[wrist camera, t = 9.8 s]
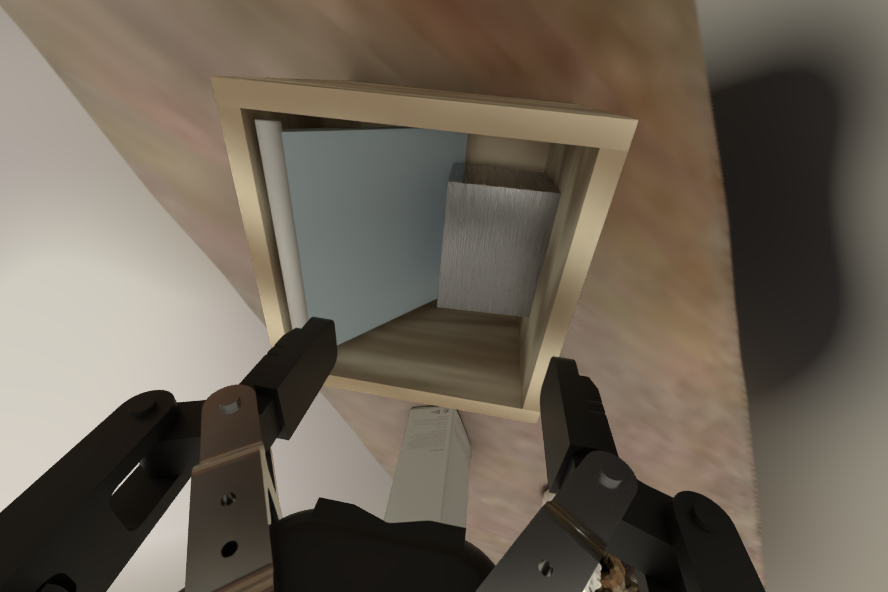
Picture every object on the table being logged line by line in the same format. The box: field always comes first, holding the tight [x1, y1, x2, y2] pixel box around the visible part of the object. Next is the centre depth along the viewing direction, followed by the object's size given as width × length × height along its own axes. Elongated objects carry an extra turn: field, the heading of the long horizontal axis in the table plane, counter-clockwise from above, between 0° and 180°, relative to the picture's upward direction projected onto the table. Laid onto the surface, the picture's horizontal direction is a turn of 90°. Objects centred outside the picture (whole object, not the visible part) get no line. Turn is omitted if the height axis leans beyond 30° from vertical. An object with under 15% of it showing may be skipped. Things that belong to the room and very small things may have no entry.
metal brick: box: [437, 163, 561, 318], centre depth 23 cm, size 8×5×6 cm
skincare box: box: [384, 406, 471, 528], centre depth 37 cm, size 8×6×15 cm
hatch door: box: [255, 119, 468, 345], centre depth 22 cm, size 13×13×1 cm
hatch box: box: [210, 76, 639, 424], centre depth 23 cm, size 16×16×14 cm
